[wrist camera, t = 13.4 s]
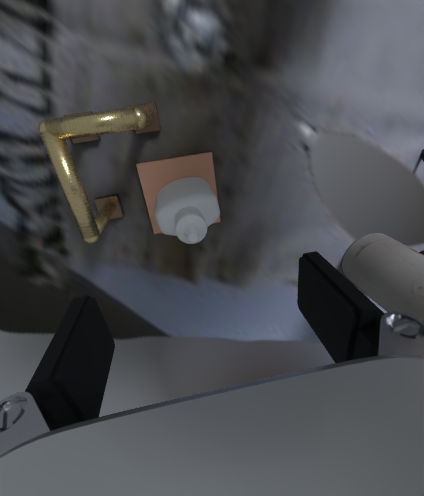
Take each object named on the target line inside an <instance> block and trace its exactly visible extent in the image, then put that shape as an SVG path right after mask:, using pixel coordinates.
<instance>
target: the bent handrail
mask: <svg viewBox="0 0 424 496" xmlns="http://www.w3.org/2000/svg"><path fill="white" fill-rule="evenodd" d="M129 107H130V108H124V109H117V110H110V111H103V112H96V113H93V112H85V113H78V114H71V115H64V117H61V118H54V119H47V120H43V121H42V122H41V123H40V124H39V127H38V130H39V133H40V136H41V138H42V140H43V143H44V145H45V148H46V150H47V153H48V155H49V157H50V160H51V162H52V165H53V167H54V170H55V172H56V174H57V177H58V179H59V182H60V184H61V187H62V189H63V192H64V194H65V196H66V199H67V201H68V204H69V206H70V209H71V211H72V213H73V216H74V218H75V221H76V223H77V226H78V228H79V230H80V233H81V235H82V238H83V240H84V241H85V242H87V243H96V242H97V241H98V240H99V239H100V235H101V233H102V231H103V230H104V228H105V226H106V224H107V223H108V221H109V219H114V218H120V217H123V216H124V212H123V209H122V206H121V202H120V199H119V196H118V194H115V195H109V196H103V197H97V198H95V199H94V202H95V205H96V207H97V210H98V214H97V215H96V216H95V218H94V215H93V212H92V210H91V207H90V204H89V202H88V199H87V196H86V194H85V191H84V188H83V186H82V183H81V180H80V177H79V175H78V172H77V169H76V167H75V164H74V161H73V159H72V156H71V153H70V150H69V148H68V145H67V142H66V140H70V139H72V141H73V143H80V142H87V141H93V140H99V139H101V138H100V135H103V134H110V133H116V132H123V131H129V130H135V131H136V134H139V133H146V132H153V131H159V130H161V128H160V123H159V118H158V114H157V109H156V104H155V102H154V103H148V104H141V105H134V106H129Z"/></svg>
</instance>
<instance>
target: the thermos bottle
mask: <svg viewBox="0 0 424 496" xmlns="http://www.w3.org/2000/svg"><path fill="white" fill-rule="evenodd" d="M342 270H343V273H344V274H345V276H346V277H347V278H348V279H349V280H351V281H352V282H353V283H354V284H355V285H356V286H357V287H359V288H360V289H361V290H362V291H363V292H364V293H365V294H367V295H368V296H369V297H370V298H371V299H372V300H373V301H375V302H376V303H377V304H378V305H380V306H381V307H382V308H383V309H385V310H386V311H387V312H394V311H398V312H405V313H408V314H411V315H414V316H416V317H418V318H420V319H421V320H423V321H424V255H422V254H421V253H419V252H417V251H415V250H413V249H411V248H409V247H407V246H405V245H404V244H402V243H400V242H398V241H396V240H394V239H392V238H390V237H388V236H386V235H385V234H380V233H373V234H369V235H366V236H363V237H362V238H360V239H358V240H357V241H356V242H354V243H353V244H352V245H351V246H350V247H349V249H348V250H347V251H346V253H345V255H344V258H343V261H342Z"/></svg>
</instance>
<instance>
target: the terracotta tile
mask: <svg viewBox="0 0 424 496" xmlns="http://www.w3.org/2000/svg"><path fill="white" fill-rule="evenodd" d="M136 166H137V170H138V174H139V178H140V182H141V185H142V189H143V193H144V197H145V201H146V205H147V208H148V212H149V216H150V220H151V224H152V227H153V231H154V234H158V233H162V232H161V230H160V228H159V226H158V223H157V221H156V218H155V208H156V200H157V194H158V192H159V191H160V190H161V189H162V188H163V187H164V186H166V185H167V184H169V183H171V182H173V181H175V180H178V179H181V178H187V177H200V178H203V179H205V180H206V181H207V183H208V185H209V186H210V188H211V189H212V191H213V193H214V194H215V196H216V198H217V201H218V197H217V189H216V181H215V173H214V165H213V157H212V152H205V153H199V154H193V155H187V156H181V157H174V158H168V159H162V160H156V161H150V162H143V163H137V164H136ZM218 222H220V216H219V217H218V219H217V220H216V221H215V222H214V223H218ZM212 224H213V223H212Z"/></svg>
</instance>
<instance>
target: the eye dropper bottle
mask: <svg viewBox="0 0 424 496" xmlns="http://www.w3.org/2000/svg"><path fill="white" fill-rule="evenodd" d="M219 216H220V209H219V205H218V201H217V198H216V196H215V194H214V193H213V191H212V189H211V188H210V186H209V185H208V183H207V181H206V180H205V179H203V178H200V177H187V178H181V179H178V180H175V181H173V182H171V183H169V184H167V185H166V186H164V187H163V188H162V189H161V190H160V191H159V192H158V194H157V200H156V208H155V218H156V221H157V223H158V226H159V228H160V230H161V232H162V233H164V234H167V235H174V236H178V238H179V239H180V240H181V241H182V242H185V243H188V244H195V243H198V242H200V241H201V240H202V239H203V238H204V237H205V235H206V234H207V227H208V226H210V225H211V224H212V223H214V222H215V221H216V220H217V219H218V217H219Z"/></svg>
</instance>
